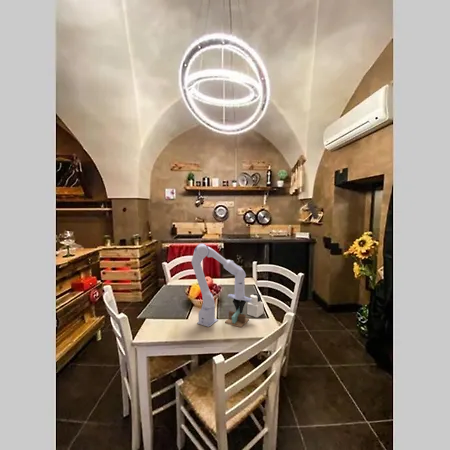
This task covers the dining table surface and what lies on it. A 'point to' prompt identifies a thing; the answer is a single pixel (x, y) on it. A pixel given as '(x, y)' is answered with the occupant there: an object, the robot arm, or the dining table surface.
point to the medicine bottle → (255, 306)
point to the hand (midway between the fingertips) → (239, 312)
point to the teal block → (236, 315)
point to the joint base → (239, 322)
